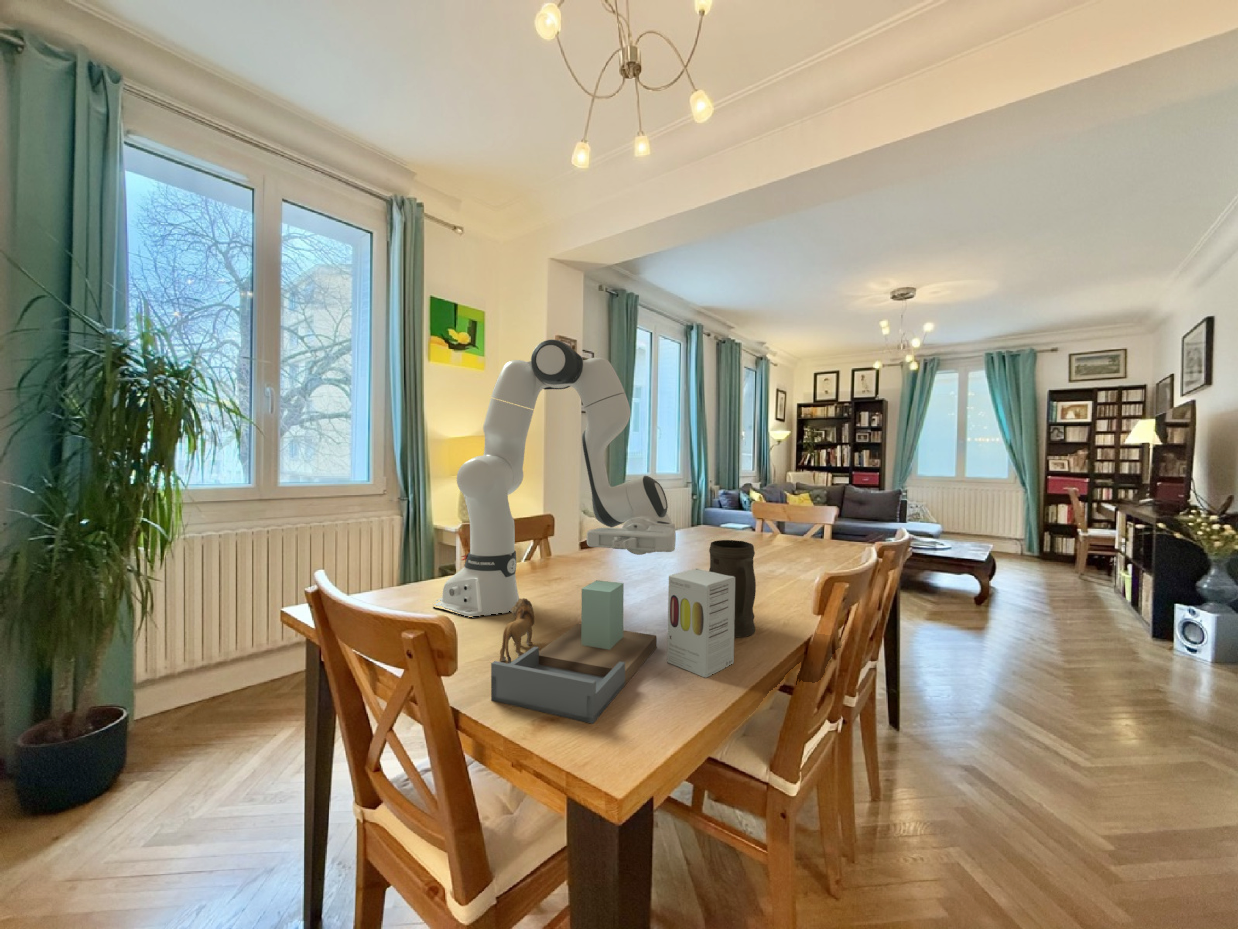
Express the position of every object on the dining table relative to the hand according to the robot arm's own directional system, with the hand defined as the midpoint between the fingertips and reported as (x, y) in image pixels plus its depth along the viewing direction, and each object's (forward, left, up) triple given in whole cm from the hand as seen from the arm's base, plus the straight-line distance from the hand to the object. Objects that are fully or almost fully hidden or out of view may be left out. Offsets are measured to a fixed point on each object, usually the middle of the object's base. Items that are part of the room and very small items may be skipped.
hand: (618, 545), depth 105 cm
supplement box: (+19, -5, -20) cm, 28 cm away
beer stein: (+23, +14, -20) cm, 34 cm away
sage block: (0, -8, -18) cm, 19 cm away
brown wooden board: (0, -10, -20) cm, 22 cm away
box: (0, -25, -20) cm, 32 cm away
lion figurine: (-17, -13, -21) cm, 29 cm away
